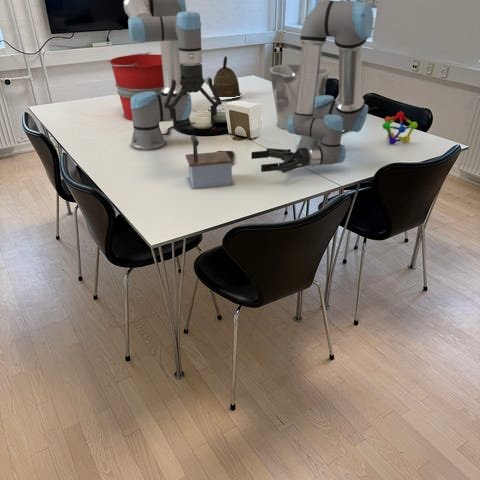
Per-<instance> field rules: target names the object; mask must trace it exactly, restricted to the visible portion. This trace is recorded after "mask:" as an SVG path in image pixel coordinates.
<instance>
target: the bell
mask: <svg viewBox="0 0 480 480" xmlns="http://www.w3.org/2000/svg"><path fill="white" fill-rule="evenodd" d="M227 63H228V57H227V56H224V58H223V63H222V67H221V68H219V69H218V70H217V71H216V73H215V75H214V78H213V81H212V84H213V86H214V88H215V90H216V92H217V94H218V96H219V97H236V96H240V95H241V96H242V93H241V92H240V83H239V80H238V79H239V78H238V77H237V75H236V73H235V72H234V70H232V69H231V68H230V67H227Z"/></svg>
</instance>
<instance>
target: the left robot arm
mask: <svg viewBox="0 0 480 480" xmlns="http://www.w3.org/2000/svg"><path fill="white" fill-rule="evenodd" d="M122 3H123V10H124V12H125V14H126V15H127V16H128V20H127V23H128V25H127V26H128V33H129V39H130V40H131V41H132V42H133V43H134V42H135V43H147V42H148V43H149V42H159V43H160V44H159V46H160V55H161V57H162V69H163V81H164V87H163V88H162V90H161V95H157V94H156V92H153V91H151V92H150V91H147V92H141V93H138V94H135V95H134V96H132V98H131V109H132V117H133V120H132V125H133V132H132V135H131V147H132V148H134V149H135V150H141V151H151V150H153V151H154V150H157V149H161V148H163V147H164V146H165V144H166V140H165V137H164V136H168V135H169V134H170V130H171V129H173V128H174V129H178V127H183V126H186V125H191V124H190V122H191V121H190V122H189V121H188V122H185V123H181V124H177V121H179V122H180V121H185V120H188V119H189V118H190V116H191V113H192V95H191V93H198V92H200V93H201V94H202V95H203V96H204V97H205V98H206V99H207V101H208V102H209V103H210V104H211V105H210V106H209V107H210V113H211V116H210V124H211V126H212V127H213V126H214V127H215V117H216V116H217V115H218V106H221V105H222V104H223V102H222V100H220V98H219V96H218V94H217V92H216V90H215V88H214V86H213V78H211V77H210V76H207V77H206V78H204V77H203V74H204V73H203V64H202V63H203V54H202V53H203V51H202V21H201V14H200V13H199V12H198V11H192V10H191V11H187V5H186V0H123V2H122ZM204 84H206V86H208V87H209V89H210V91H211V93H212V95H214V97H215V99H214V98H212V96H210V95H209V93H208V92H206V90H205V89H204V88H203V86H204ZM162 122H172V123H173V125H172V126H170V127H168V128H167V132H165V133H163V132H162V130H161V127H160V123H162Z"/></svg>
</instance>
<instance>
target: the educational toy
mask: <svg viewBox="0 0 480 480" xmlns="http://www.w3.org/2000/svg"><path fill="white" fill-rule="evenodd" d="M397 119H399V124H400V125H399V127H398V126H393V125H391V124H392V123H394V122H395V121H396V120H397ZM403 120H404V121H405V122H407V123H408V124H409V125H407V126H404V123H403ZM417 127H418V122H417V121H411V120H410V119H409V118H408V117H406V116H405V113H404V112H403V111H401V110H400V111H398V112H397V114H396V115H394V116H391V117H390V116H386V117H385V118H384V122H383V123H382V129H383V130H386V132H387V138H388V142H389V145H395V144H396V143H397V142H402V141H403V142H404V143H409V142H410V140H411V138H410V136H411V134H412V132H413V131H414V130H415V129H417ZM392 129H393V130H397V131H398V132H396V134H395V133H394V132H392ZM408 129H409V131H408V133H407V134H406V135H404V136H401V134H403V133H405V132H406V130H408ZM399 135H400V136H399Z"/></svg>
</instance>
